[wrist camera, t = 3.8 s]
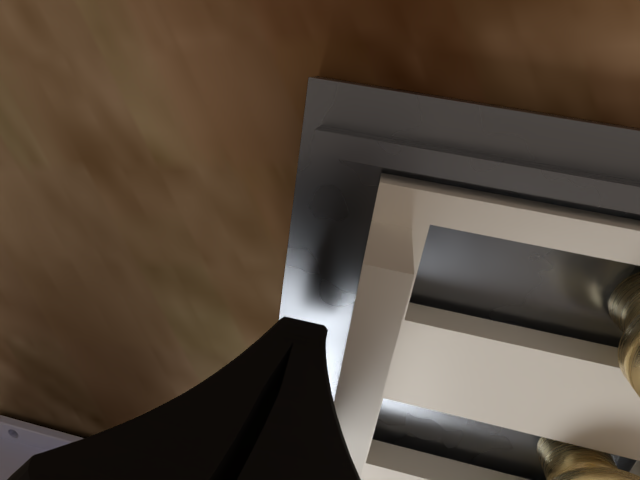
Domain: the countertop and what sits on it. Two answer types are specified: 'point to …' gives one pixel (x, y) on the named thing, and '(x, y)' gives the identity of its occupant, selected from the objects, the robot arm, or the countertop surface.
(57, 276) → the countertop surface
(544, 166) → the boss plate
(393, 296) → the panel
